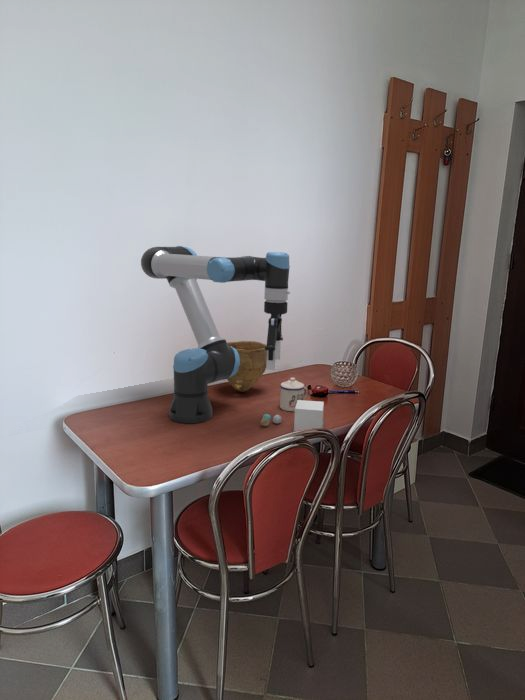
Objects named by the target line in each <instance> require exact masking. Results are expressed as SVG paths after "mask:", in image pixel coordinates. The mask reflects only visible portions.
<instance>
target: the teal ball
mask: <svg viewBox="0 0 525 700" xmlns="http://www.w3.org/2000/svg"><path fill="white" fill-rule="evenodd" d="M262 418H268V419H269V421H270V422H271V420H272V417H271V415H270V414H268V413H265V414H263V416H262Z"/></svg>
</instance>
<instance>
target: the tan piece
mask: <svg viewBox="0 0 525 700" xmlns="http://www.w3.org/2000/svg"><path fill="white" fill-rule="evenodd" d="M227 344H228V346H232V347H233V348H235V349H236V350H237V352H238V354H239V357H240V366H239V369H238V371H237V373H236V374H235V375H234V376H232V377H229V378H227V379H226V381H228V383H229V384H230V385H231V387H233V389H235V390H237V391H238V392H241V393H245V392H247V391H248V390H250V389H251V388H253V386H254V385H255V384H256V383H257V381H258V380H260V378H261V377H262V376H263V375H264V373H265V371H266V363H267V350H265V347H266V346H267V343H262V342H259V341H255V340H254V341H253V340H249V341H248V340H241V341H240V340H239V341H228V342H227Z"/></svg>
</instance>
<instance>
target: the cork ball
mask: <svg viewBox="0 0 525 700" xmlns="http://www.w3.org/2000/svg"><path fill="white" fill-rule="evenodd" d="M270 423H271V421H269V419H268V418H263V417H262V419H261V420H260V424H261V426H263V427H268V426H269V425H270Z"/></svg>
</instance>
